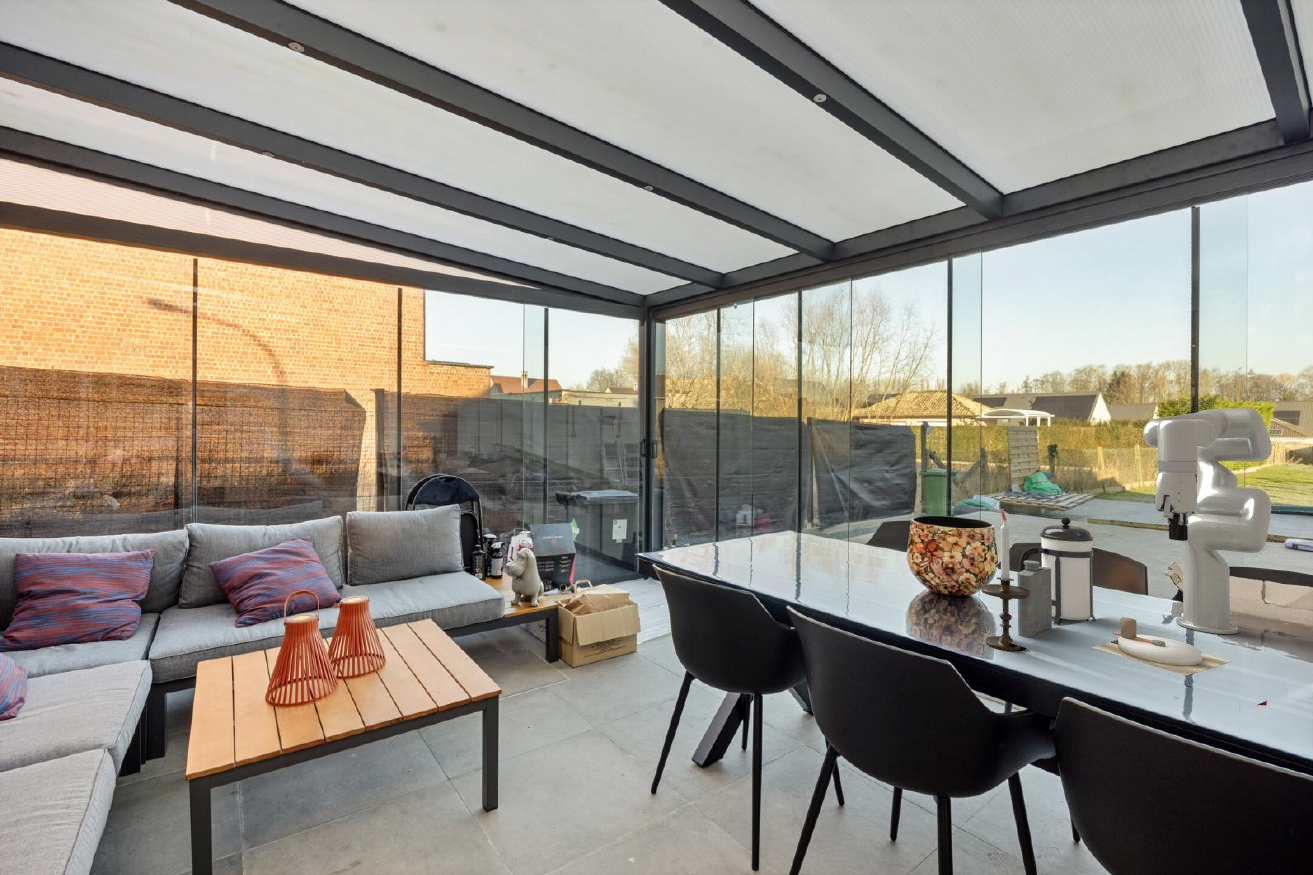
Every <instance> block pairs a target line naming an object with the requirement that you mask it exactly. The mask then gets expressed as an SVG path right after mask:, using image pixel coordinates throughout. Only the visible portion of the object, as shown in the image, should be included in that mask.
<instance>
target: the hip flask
mask: <svg viewBox="0 0 1313 875" xmlns="http://www.w3.org/2000/svg"><path fill="white" fill-rule="evenodd" d="M1024 564H1025V565H1026V566H1025V568H1026V570H1023V571H1021V572H1019V571H1018V573H1017V587H1021V588H1025V589H1027V590H1029V591H1030V597H1029V598H1026V599H1017V624H1018V625H1017V636H1018V637H1024V638H1033V636H1034V635H1036V634H1037V633H1039V632H1040V633H1041V632H1044V631H1048V630H1052V629H1053V627H1052V626H1053V625H1052V624H1053V623H1052V622H1053V621H1052V620H1053V619H1052V617H1053V616H1052V600H1051V568H1049V567H1042V566H1041V565H1040V564H1041V562H1040V561H1036V560H1027V561H1024Z"/></svg>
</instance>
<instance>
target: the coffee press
mask: <svg viewBox="0 0 1313 875" xmlns="http://www.w3.org/2000/svg"><path fill="white" fill-rule="evenodd" d="M1060 522H1061V524H1060V525H1059V524H1055V525H1047V526H1045V527H1043V529H1042V530H1041V532H1039V537H1040V538H1041V539H1040V540H1041V545H1040V547H1036V546H1035V547H1034V546H1032V547H1028V548H1026V549H1025V550H1023V551H1022V553H1021V555H1020V557H1019V562H1018V573H1019V572H1021V571H1023V570H1026V568H1025V566H1026V565H1025V564H1024V561H1029V560H1028V559H1029V558H1030V557H1031V556H1032V555H1034V554H1035V555H1037V554H1041V567H1049V568H1051V600H1052V617H1054V619H1053V624H1054V625H1058V624H1059V626H1060V624H1061V625H1062V622H1063V620H1069V621H1086V622H1090V621H1091V620H1090V618H1092V620H1093V622H1097V621H1098V620H1097V618H1095V616H1094V598H1093V597H1094V591H1093V590H1094V588H1093V586H1094V585H1093V584H1094V582H1093V581H1094V580H1093V574H1094V573H1093V572H1094V571H1093V570H1094V569H1093V557H1094V550H1093V549H1092V548H1093V546H1097V543H1096V542H1095V540H1094V537H1093V535H1092V534H1091V532H1090V531H1089V530H1088V529H1086V528H1085V527H1084V528H1083V527H1080V526H1076V525H1075V526H1074V525H1070V524H1071V522H1072V521H1071V519H1070V518H1069V517H1062V518H1061V519H1060Z"/></svg>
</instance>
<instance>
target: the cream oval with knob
mask: <svg viewBox="0 0 1313 875" xmlns="http://www.w3.org/2000/svg"><path fill="white" fill-rule="evenodd" d="M1113 635H1115V636H1118V637H1117V640H1118V647H1119V649H1120V650H1122V651H1123V652H1125V653H1127V654H1130V655H1132V656H1135V657H1138V658H1142V659H1145V660H1149V661H1154V662H1159V663H1165V664H1173V665H1197V664H1200V663H1201V662H1202V654H1203V652H1202V650H1201V649H1199V648H1198V647H1196V646H1194V645H1192V644H1189V643H1186V642H1184V641H1183V642H1182V641H1180V640H1176V639H1172V638H1167V637H1162V636H1156V635H1147V634H1137V619H1136V618H1132V617H1124V616H1123V617H1120V632H1119V631H1113Z"/></svg>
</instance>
